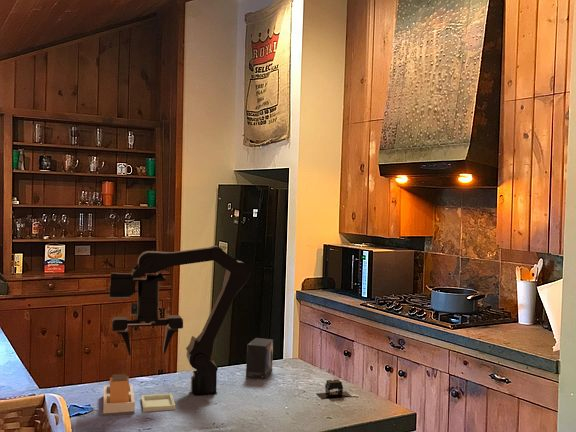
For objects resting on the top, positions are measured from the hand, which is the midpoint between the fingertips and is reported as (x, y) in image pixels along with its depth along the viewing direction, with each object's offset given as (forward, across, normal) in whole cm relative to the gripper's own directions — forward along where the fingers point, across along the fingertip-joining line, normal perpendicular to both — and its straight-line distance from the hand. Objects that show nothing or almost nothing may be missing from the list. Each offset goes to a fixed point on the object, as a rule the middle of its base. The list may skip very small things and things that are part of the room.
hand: (147, 354), depth 167 cm
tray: (+12, -2, +8) cm, 15 cm away
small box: (+12, -36, -16) cm, 41 cm away
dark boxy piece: (+13, -52, +9) cm, 54 cm away
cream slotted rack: (+12, +8, +6) cm, 15 cm away
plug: (+11, +7, +10) cm, 17 cm away
